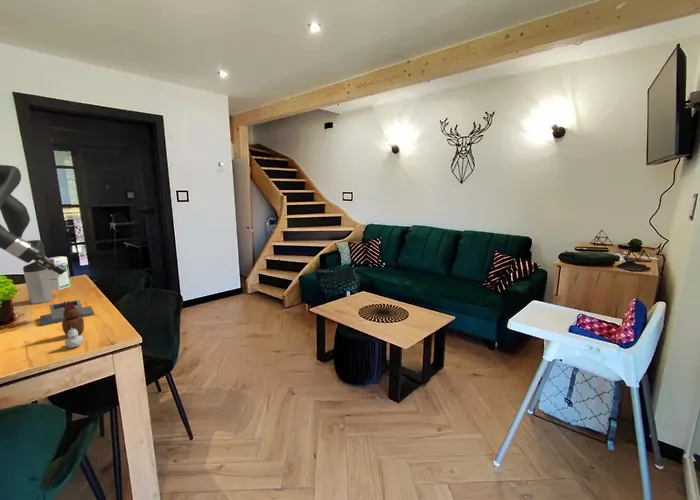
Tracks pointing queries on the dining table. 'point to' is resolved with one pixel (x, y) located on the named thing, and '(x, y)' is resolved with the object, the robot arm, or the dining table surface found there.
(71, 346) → the rubber duck
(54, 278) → the syrup box
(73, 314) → the wooden figurine
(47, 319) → the steel sleeve
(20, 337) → the dining table surface
